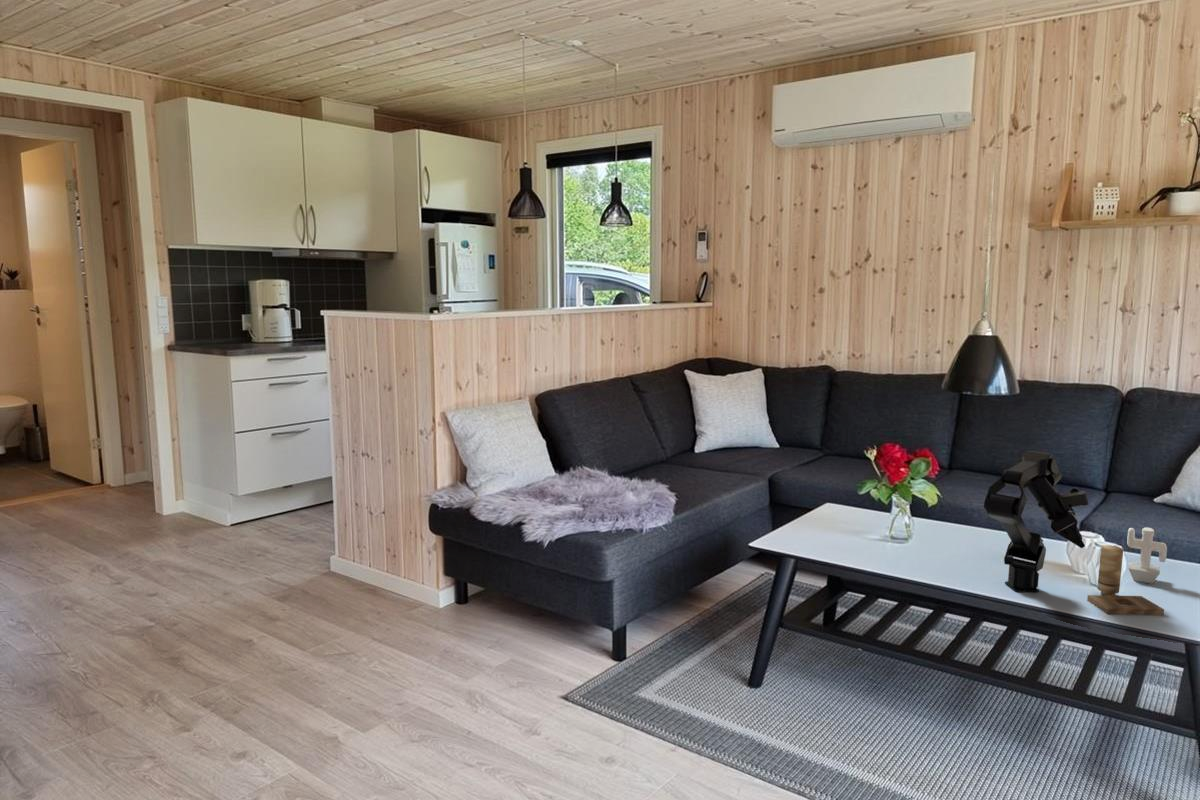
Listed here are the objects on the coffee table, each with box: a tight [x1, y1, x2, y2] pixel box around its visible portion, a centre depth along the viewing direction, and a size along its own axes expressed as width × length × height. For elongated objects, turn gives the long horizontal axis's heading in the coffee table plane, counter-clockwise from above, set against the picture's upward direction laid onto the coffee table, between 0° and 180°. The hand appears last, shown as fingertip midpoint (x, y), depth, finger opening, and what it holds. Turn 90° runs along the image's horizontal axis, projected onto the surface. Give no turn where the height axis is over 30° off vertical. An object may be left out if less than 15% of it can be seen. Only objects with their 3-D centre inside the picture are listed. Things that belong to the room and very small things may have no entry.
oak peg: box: [1096, 544, 1124, 596], centre depth 219 cm, size 5×5×13 cm
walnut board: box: [1087, 594, 1165, 616], centre depth 211 cm, size 14×9×2 cm, turn 89°
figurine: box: [1126, 526, 1168, 585], centre depth 230 cm, size 7×9×15 cm
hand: (1082, 543), depth 221 cm, fingers open, 9 cm apart
